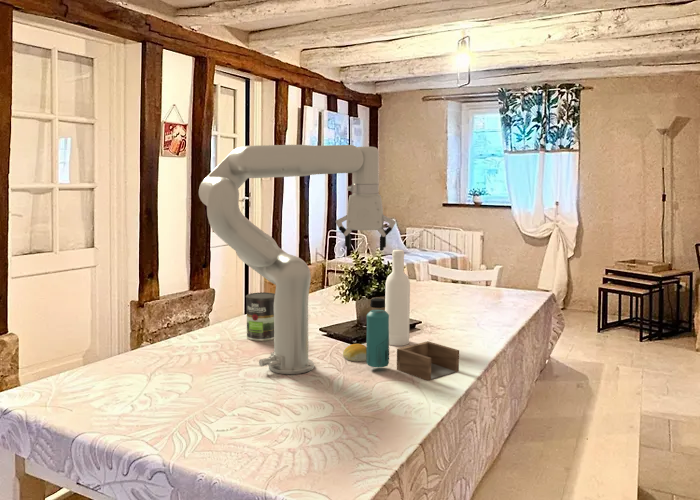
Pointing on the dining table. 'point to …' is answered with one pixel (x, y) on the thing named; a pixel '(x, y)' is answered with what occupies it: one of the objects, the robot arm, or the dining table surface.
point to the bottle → (398, 301)
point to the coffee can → (260, 316)
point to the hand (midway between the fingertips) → (365, 249)
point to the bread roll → (355, 352)
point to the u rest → (427, 360)
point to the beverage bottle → (377, 335)
